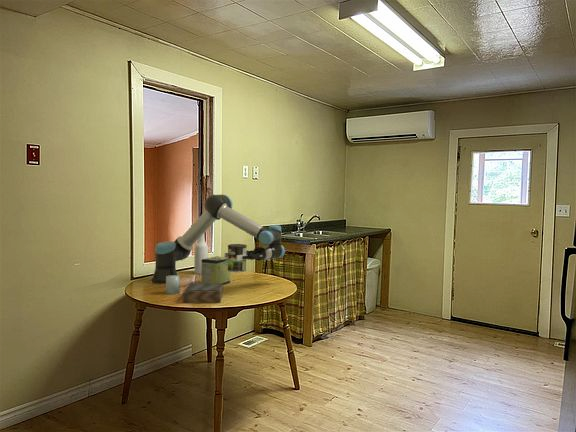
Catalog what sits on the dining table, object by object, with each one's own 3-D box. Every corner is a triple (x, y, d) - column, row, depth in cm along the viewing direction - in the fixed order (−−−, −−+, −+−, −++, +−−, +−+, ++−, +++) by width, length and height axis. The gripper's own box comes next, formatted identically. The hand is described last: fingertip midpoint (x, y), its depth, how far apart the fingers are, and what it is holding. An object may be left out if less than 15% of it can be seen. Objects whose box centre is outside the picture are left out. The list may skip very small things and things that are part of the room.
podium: (183, 302, 209) (183, 290, 209) (188, 294, 227) (188, 283, 226) (220, 302, 210) (220, 290, 210) (223, 294, 228) (223, 283, 228)
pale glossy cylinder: (164, 294, 225) (164, 277, 225) (167, 291, 232) (167, 275, 232) (178, 294, 226) (178, 277, 225) (180, 291, 233) (180, 275, 232)
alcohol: (195, 272, 290) (195, 227, 288) (208, 272, 290) (208, 228, 289) (193, 274, 281) (193, 229, 279) (206, 274, 281) (207, 229, 280)
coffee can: (234, 273, 226) (235, 246, 225) (223, 270, 233) (224, 244, 233) (250, 271, 233) (250, 245, 232) (239, 268, 240) (239, 243, 240)
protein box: (230, 282, 257) (231, 257, 257) (215, 287, 243) (216, 260, 243) (216, 281, 262) (216, 255, 261) (200, 285, 248) (201, 259, 247)
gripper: (275, 262, 237) (243, 266, 222) (249, 257, 253) (218, 261, 238) (275, 249, 237) (244, 252, 221) (249, 244, 253) (218, 247, 237)
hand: (230, 256), depth 230 cm, fingers closed on coffee can, 10 cm apart
